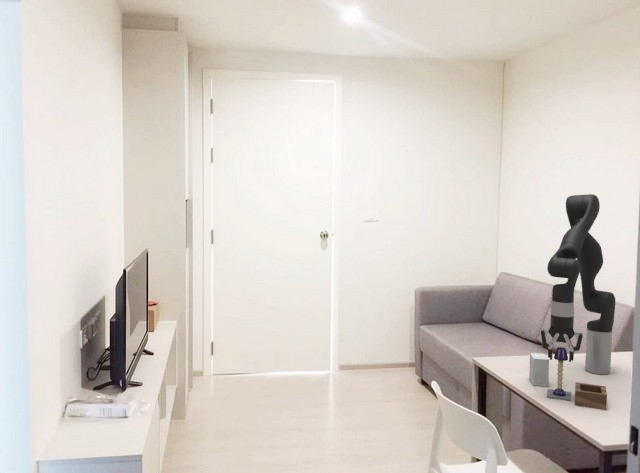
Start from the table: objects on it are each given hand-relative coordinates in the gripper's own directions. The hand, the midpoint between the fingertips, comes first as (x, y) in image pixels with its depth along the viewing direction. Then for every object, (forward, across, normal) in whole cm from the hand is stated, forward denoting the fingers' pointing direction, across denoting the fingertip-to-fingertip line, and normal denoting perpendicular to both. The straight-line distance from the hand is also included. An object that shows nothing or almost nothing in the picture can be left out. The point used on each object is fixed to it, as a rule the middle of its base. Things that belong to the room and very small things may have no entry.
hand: (560, 360), depth 194 cm
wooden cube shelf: (+13, -10, +2) cm, 17 cm away
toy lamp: (+13, 0, 0) cm, 13 cm away
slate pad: (+13, 0, 0) cm, 13 cm away
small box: (+13, +8, -11) cm, 19 cm away
